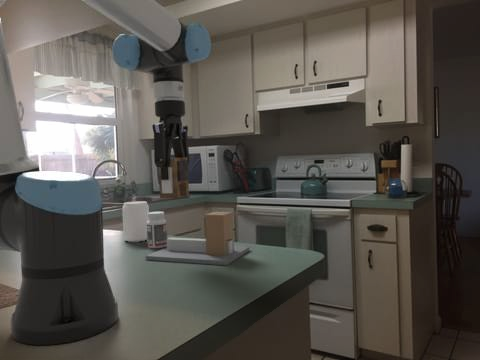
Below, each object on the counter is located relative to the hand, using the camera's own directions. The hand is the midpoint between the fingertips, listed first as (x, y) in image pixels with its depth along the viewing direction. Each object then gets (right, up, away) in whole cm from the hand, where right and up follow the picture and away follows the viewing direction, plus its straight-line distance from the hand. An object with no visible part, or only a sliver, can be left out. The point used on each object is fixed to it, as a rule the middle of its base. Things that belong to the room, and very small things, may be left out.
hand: (174, 191), depth 107 cm
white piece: (-16, -16, +25) cm, 34 cm away
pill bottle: (-7, -17, +14) cm, 23 cm away
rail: (+6, -17, +1) cm, 18 cm away
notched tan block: (0, -1, 0) cm, 1 cm away
